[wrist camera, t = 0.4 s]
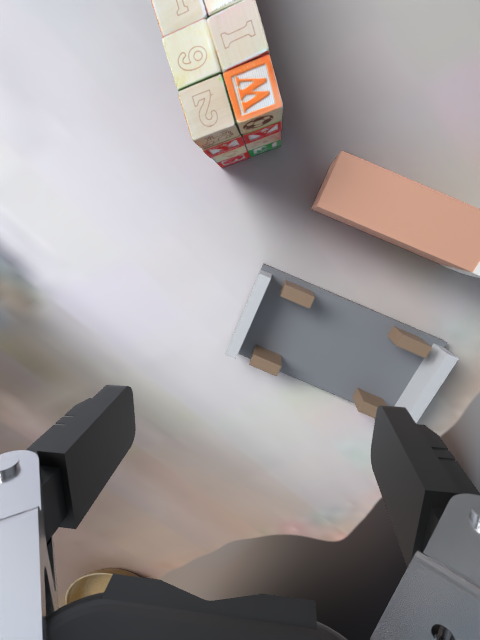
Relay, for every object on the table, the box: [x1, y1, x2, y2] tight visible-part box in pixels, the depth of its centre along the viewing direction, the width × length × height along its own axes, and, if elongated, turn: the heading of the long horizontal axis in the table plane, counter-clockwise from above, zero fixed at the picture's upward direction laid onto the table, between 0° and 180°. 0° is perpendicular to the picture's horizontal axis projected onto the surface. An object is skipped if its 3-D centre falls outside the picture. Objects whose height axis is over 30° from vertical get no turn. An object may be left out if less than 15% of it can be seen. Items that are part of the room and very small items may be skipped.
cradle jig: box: [225, 264, 459, 423], centre depth 36 cm, size 10×20×4 cm, turn 67°
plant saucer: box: [65, 568, 139, 605], centre depth 51 cm, size 15×15×3 cm
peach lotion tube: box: [311, 151, 480, 278], centre depth 31 cm, size 5×16×6 cm, turn 67°
